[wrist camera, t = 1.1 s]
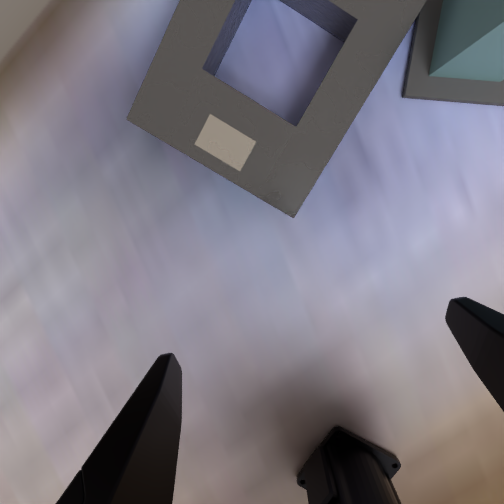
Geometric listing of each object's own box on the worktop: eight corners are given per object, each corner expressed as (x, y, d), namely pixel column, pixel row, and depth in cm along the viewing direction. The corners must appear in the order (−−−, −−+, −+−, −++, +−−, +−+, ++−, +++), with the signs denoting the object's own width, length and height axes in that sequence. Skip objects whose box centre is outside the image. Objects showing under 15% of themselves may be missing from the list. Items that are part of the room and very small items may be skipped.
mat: (509, 106, 19) (514, 104, 19) (402, 97, 19) (405, 95, 19) (540, -18, 18) (546, -23, 17) (424, -26, 18) (427, -31, 17)
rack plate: (425, -9, 18) (454, -44, 15) (290, 215, 21) (294, 218, 18) (259, -121, 17) (258, -179, 14) (143, 128, 20) (124, 118, 17)
